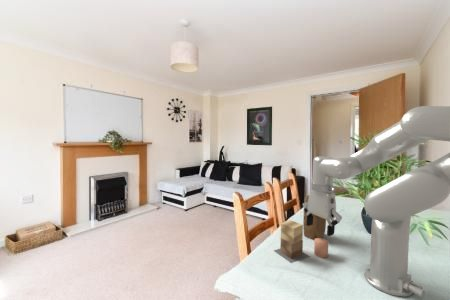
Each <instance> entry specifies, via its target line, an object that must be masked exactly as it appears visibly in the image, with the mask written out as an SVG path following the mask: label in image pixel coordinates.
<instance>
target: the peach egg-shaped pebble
mask: <svg viewBox="0 0 450 300" xmlns="http://www.w3.org/2000/svg"><path fill="white" fill-rule="evenodd" d="M313 247H314V252H313V254H314V256H316V257H318V258H320V259H327V258H328V257H329V241H328V240H327V239H326V238H323V237H322V238H316V239H315V240H314V244H313Z"/></svg>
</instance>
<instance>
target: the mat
mask: <svg viewBox="0 0 450 300" xmlns="http://www.w3.org/2000/svg"><path fill="white" fill-rule="evenodd" d="M280 249H281V247H279V248H278V249H273V252H275V253H276V254H277V255H279V256H280V257H282V258H283V259H285V260H286V261H287V262H289V263H291V264H294V263H296V262H298V261H301V260H304V259H307V258H310V257H311V256H310V255H308V254H307V253H306V252H304V251H303V255H302V256H299V257H296V258H293V259H291V258H289V257H288V256H286V255H285V254H283V253H282V252H280Z"/></svg>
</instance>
